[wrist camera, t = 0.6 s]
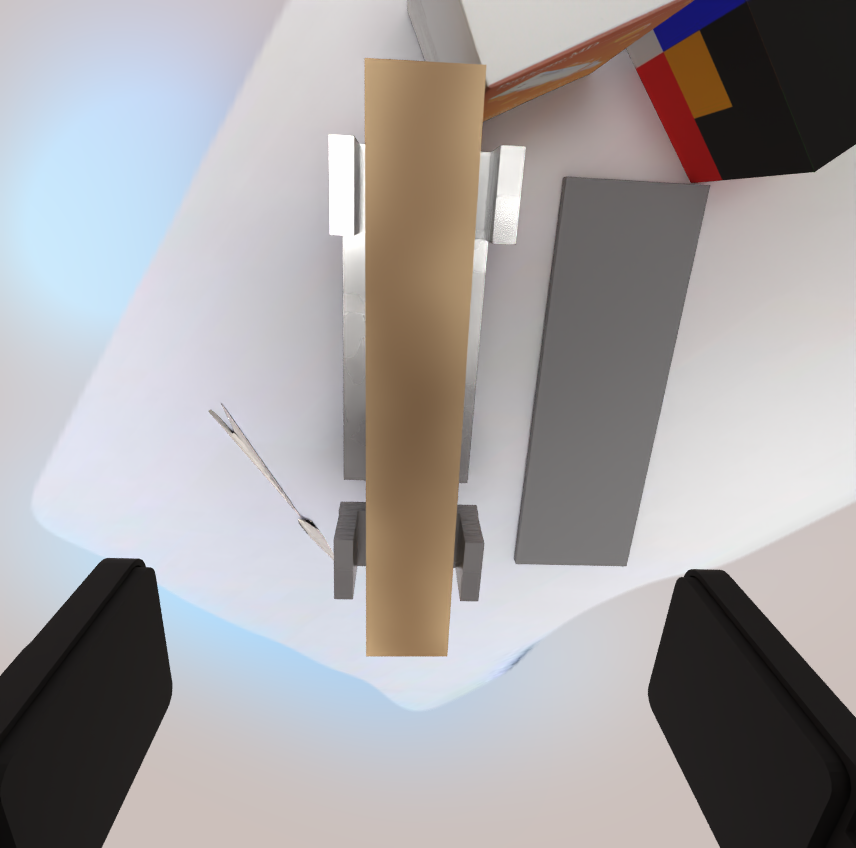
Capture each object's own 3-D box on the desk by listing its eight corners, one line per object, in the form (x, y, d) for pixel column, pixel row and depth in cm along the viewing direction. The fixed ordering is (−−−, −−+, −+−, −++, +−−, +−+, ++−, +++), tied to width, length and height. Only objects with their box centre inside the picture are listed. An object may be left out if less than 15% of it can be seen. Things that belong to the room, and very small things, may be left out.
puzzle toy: (604, 5, 27) (707, -99, 18) (791, -143, 26) (1010, -343, 16) (690, 183, 31) (814, 171, 21) (861, 62, 29) (1079, -8, 19)
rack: (492, 163, 30) (553, 131, 17) (465, 476, 37) (496, 610, 24) (344, 153, 29) (301, 114, 17) (345, 472, 36) (314, 607, 24)
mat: (704, 185, 31) (710, 185, 30) (623, 561, 40) (626, 566, 39) (563, 177, 30) (566, 176, 30) (514, 558, 39) (515, 563, 39)
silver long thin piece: (352, 629, 40) (183, 423, 34) (353, 619, 41) (189, 417, 35) (399, 605, 40) (237, 391, 33) (399, 596, 41) (241, 386, 34)
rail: (472, 89, 19) (486, 64, 16) (442, 602, 27) (447, 656, 24) (371, 84, 19) (364, 57, 16) (371, 602, 27) (366, 656, 24)
